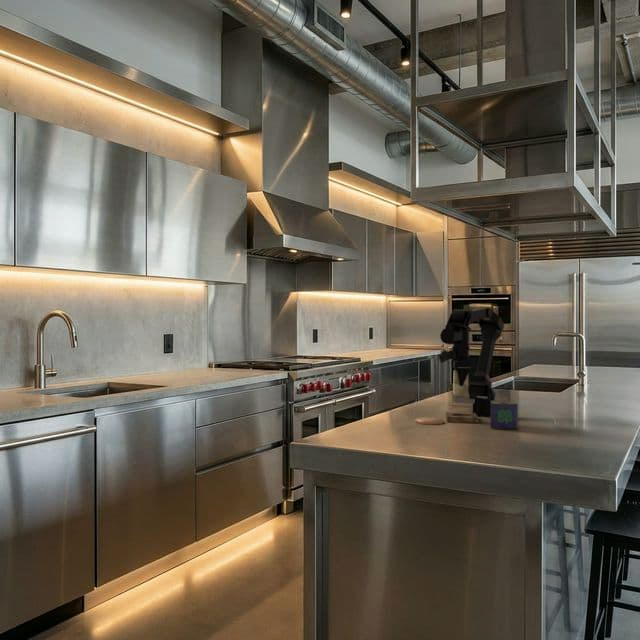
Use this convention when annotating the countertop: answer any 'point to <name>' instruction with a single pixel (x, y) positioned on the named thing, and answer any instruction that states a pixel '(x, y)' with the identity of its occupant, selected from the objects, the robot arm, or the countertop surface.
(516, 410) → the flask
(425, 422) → the terracotta plate
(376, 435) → the countertop surface
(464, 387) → the maple block
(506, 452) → the countertop surface
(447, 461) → the countertop surface
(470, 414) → the pocket board
